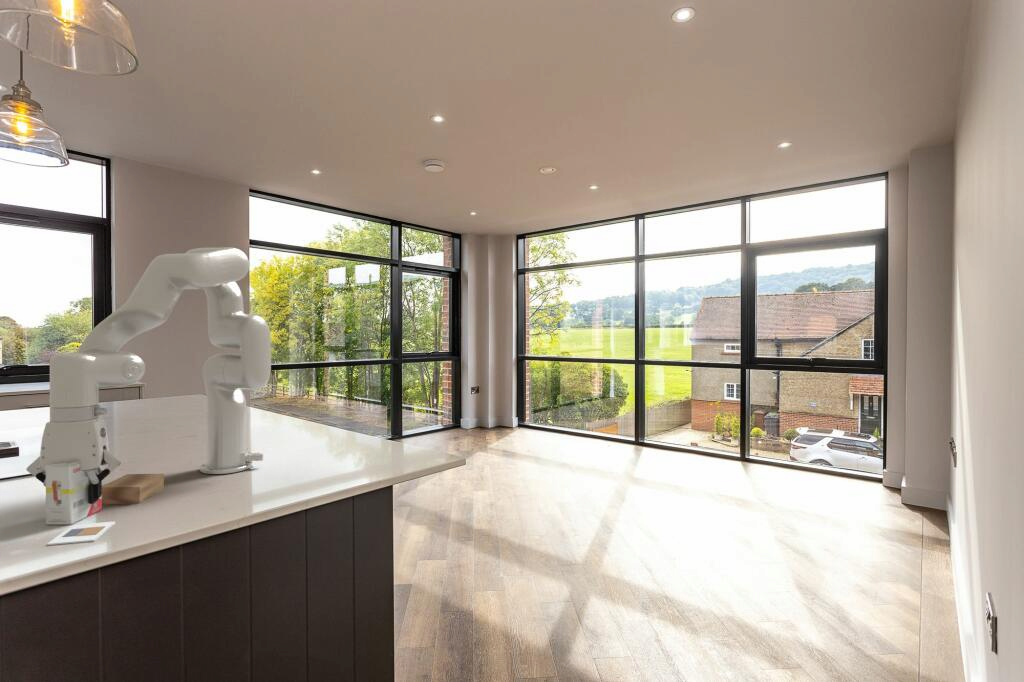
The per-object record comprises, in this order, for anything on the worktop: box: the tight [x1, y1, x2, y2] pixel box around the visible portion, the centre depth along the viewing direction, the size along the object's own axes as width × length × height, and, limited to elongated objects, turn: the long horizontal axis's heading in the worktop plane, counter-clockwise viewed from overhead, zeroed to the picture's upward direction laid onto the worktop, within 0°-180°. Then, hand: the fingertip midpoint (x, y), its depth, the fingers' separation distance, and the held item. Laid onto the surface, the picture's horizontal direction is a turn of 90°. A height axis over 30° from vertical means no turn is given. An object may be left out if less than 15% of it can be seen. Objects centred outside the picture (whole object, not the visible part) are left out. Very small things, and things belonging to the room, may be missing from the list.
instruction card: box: [46, 520, 117, 546], centre depth 96 cm, size 7×9×1 cm
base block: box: [102, 473, 165, 505], centre depth 117 cm, size 8×10×4 cm
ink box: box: [45, 462, 103, 526], centre depth 104 cm, size 9×5×12 cm, turn 3°
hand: (74, 502), depth 104 cm, fingers closed on ink box, 5 cm apart
